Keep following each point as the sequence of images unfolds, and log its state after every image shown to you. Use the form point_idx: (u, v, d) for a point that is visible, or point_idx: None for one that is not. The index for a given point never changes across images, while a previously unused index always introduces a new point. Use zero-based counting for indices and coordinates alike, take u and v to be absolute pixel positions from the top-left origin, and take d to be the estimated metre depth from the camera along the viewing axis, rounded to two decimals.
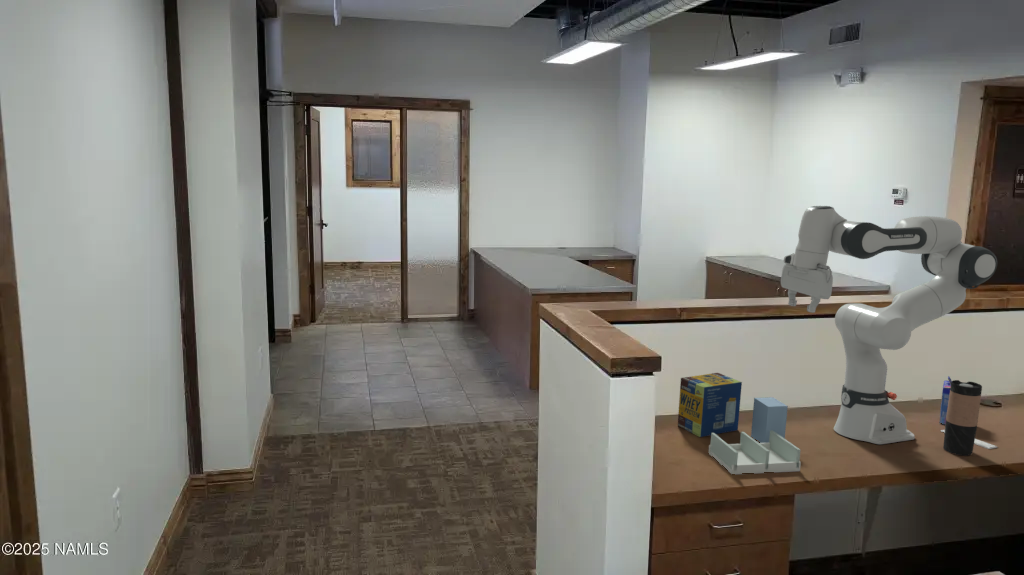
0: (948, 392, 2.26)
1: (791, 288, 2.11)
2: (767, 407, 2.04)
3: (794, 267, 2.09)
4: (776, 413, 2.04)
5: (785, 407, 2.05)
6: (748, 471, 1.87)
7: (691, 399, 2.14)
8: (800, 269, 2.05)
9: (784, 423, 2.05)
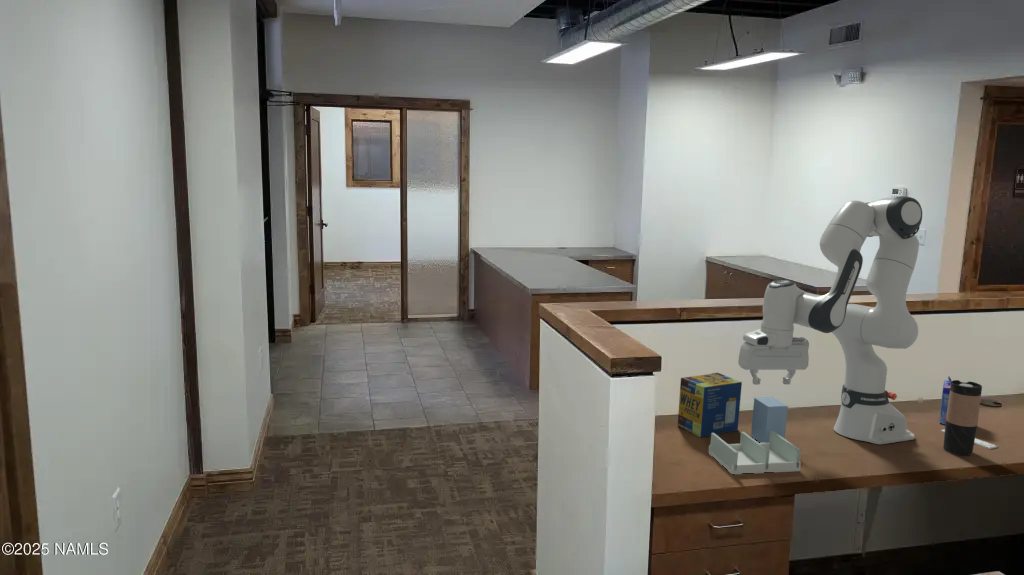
0: (948, 392, 2.26)
1: (763, 368, 2.04)
2: (767, 407, 2.04)
3: (769, 347, 2.02)
4: (776, 413, 2.04)
5: (785, 407, 2.05)
6: (748, 471, 1.87)
7: (691, 399, 2.14)
8: (783, 348, 2.02)
9: (784, 423, 2.05)
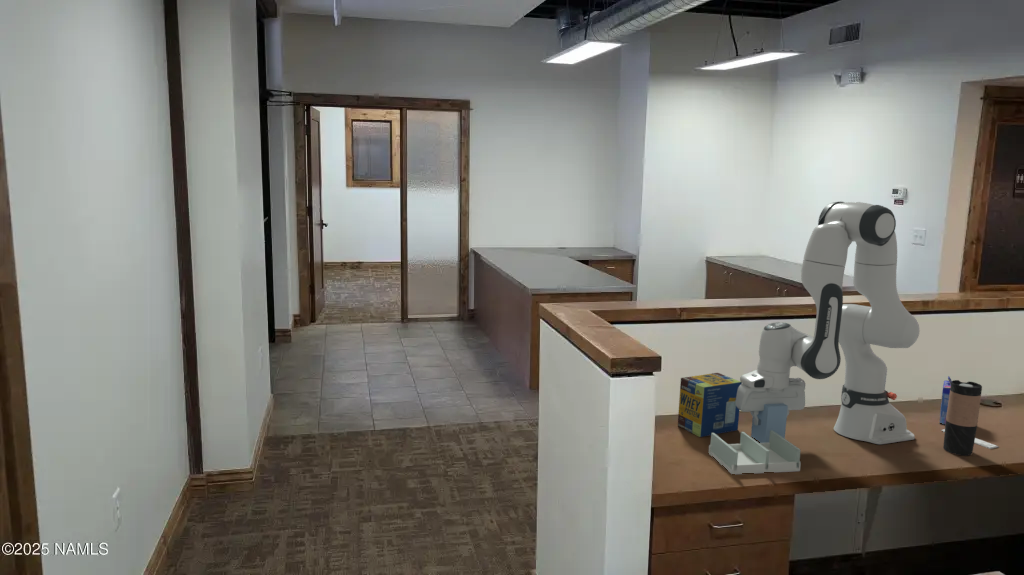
0: (948, 392, 2.26)
1: (761, 409, 2.06)
2: (767, 407, 2.04)
3: (766, 389, 2.04)
4: (776, 413, 2.04)
5: (785, 407, 2.05)
6: (748, 471, 1.87)
7: (691, 399, 2.14)
8: (780, 389, 2.04)
9: (784, 423, 2.05)
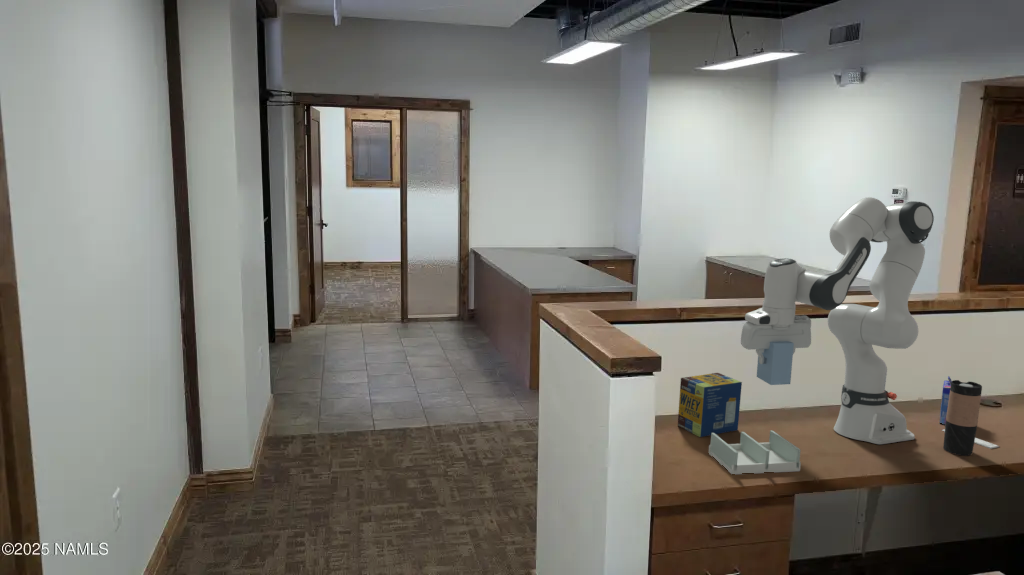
0: (948, 392, 2.26)
1: (766, 347, 2.03)
2: (773, 344, 2.01)
3: (771, 326, 2.01)
4: (782, 350, 2.01)
5: (791, 344, 2.02)
6: (748, 471, 1.87)
7: (691, 399, 2.14)
8: (785, 326, 2.02)
9: (790, 361, 2.02)
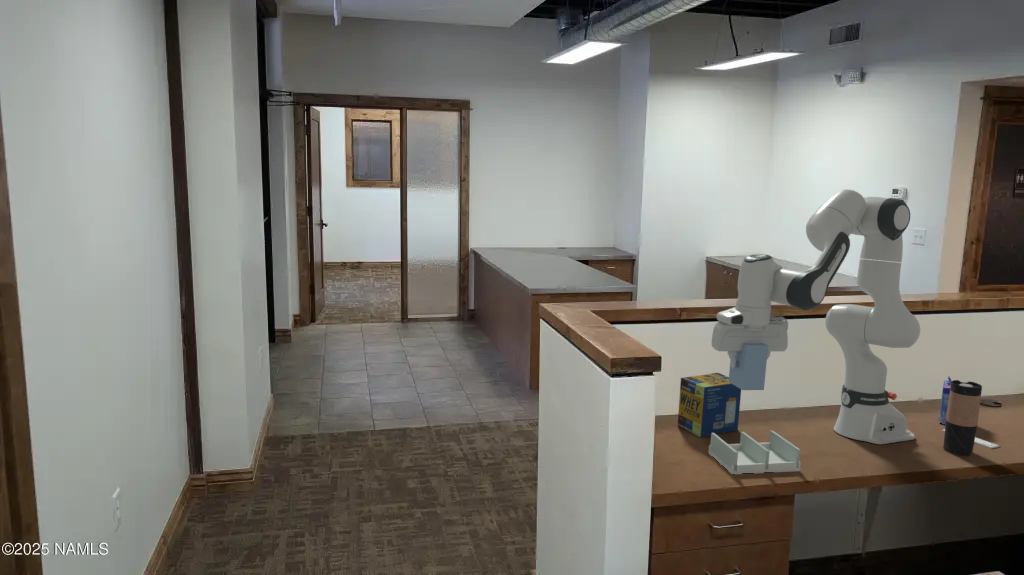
0: (948, 392, 2.26)
1: (738, 349, 1.88)
2: (745, 346, 1.86)
3: (744, 326, 1.86)
4: (755, 353, 1.86)
5: (765, 346, 1.87)
6: (748, 471, 1.87)
7: (691, 399, 2.14)
8: (760, 327, 1.86)
9: (764, 364, 1.87)
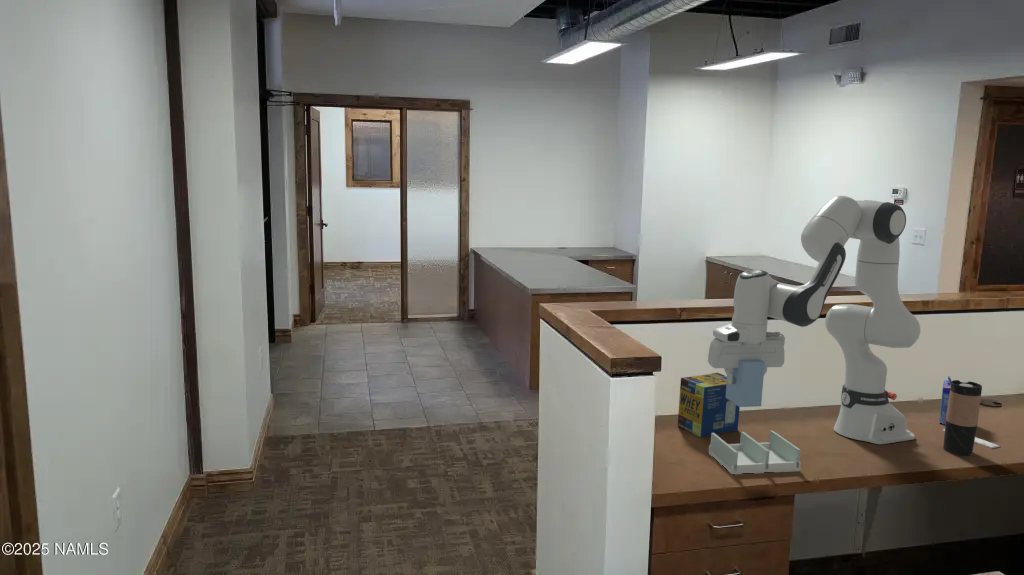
0: (948, 392, 2.26)
1: (735, 366, 1.87)
2: (742, 363, 1.85)
3: (740, 343, 1.85)
4: (752, 369, 1.85)
5: (762, 363, 1.85)
6: (748, 471, 1.87)
7: (691, 399, 2.14)
8: (756, 344, 1.85)
9: (761, 381, 1.86)
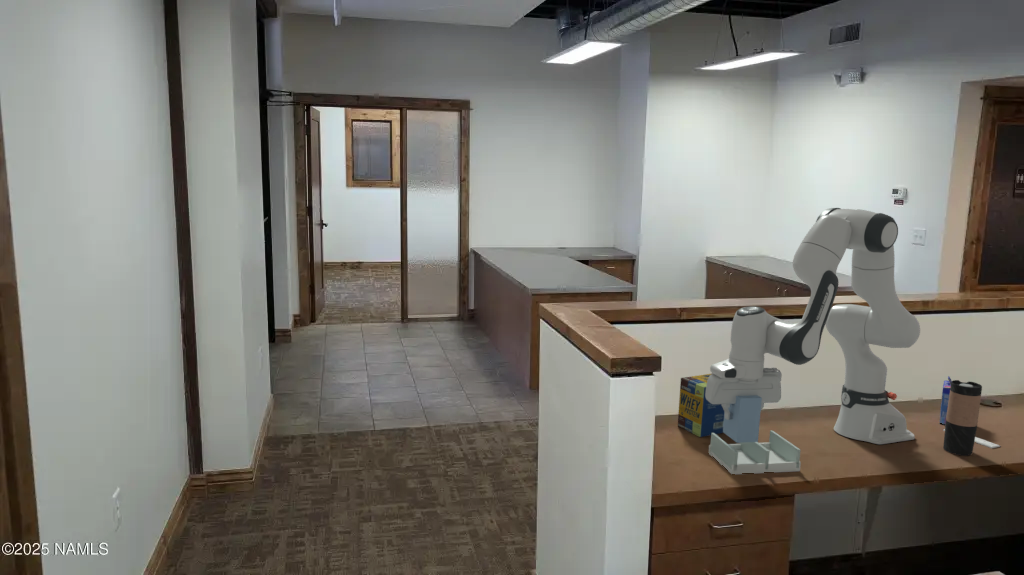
0: (948, 392, 2.26)
1: (732, 402, 1.88)
2: (739, 399, 1.86)
3: (737, 379, 1.87)
4: (749, 406, 1.87)
5: (759, 399, 1.87)
6: (748, 471, 1.87)
7: (691, 399, 2.14)
8: (753, 380, 1.87)
9: (758, 417, 1.88)
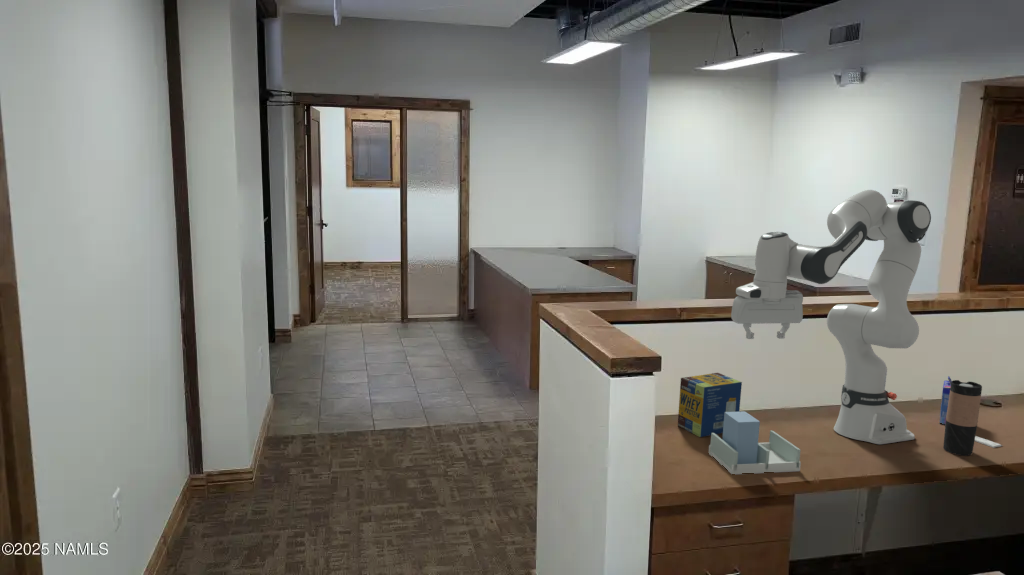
0: (948, 392, 2.26)
1: (757, 321, 2.00)
2: (737, 423, 1.88)
3: (762, 300, 1.98)
4: (747, 429, 1.88)
5: (757, 423, 1.88)
6: (748, 471, 1.87)
7: (691, 399, 2.14)
8: (776, 300, 1.99)
9: (756, 440, 1.89)
